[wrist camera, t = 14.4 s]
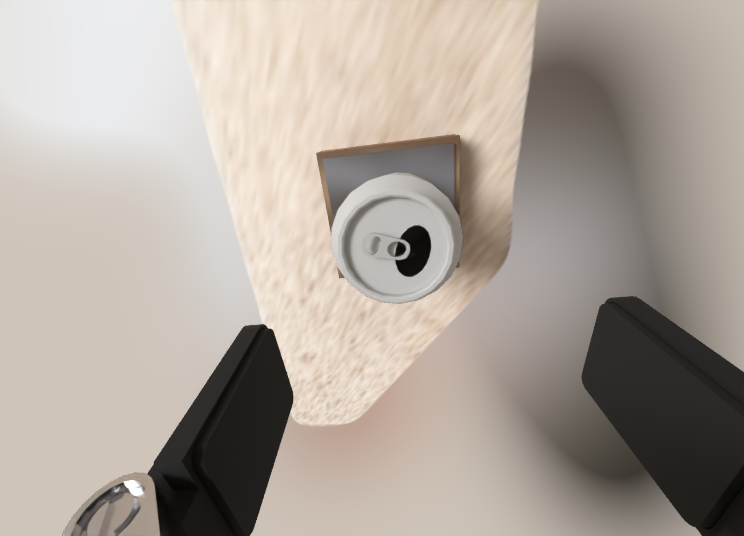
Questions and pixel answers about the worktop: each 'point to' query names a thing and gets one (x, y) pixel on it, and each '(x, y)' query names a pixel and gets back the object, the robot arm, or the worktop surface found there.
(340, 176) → the plinth
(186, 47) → the worktop surface
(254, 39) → the worktop surface
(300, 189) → the worktop surface
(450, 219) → the can
